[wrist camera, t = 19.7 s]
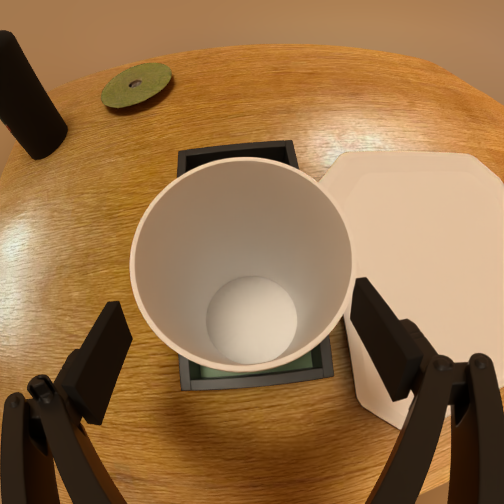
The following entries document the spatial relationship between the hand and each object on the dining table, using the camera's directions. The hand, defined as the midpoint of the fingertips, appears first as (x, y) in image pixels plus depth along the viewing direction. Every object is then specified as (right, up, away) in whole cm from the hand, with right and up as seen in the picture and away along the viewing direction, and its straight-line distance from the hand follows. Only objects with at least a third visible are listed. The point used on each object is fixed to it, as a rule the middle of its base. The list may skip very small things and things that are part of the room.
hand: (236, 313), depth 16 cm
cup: (+1, -3, +9) cm, 10 cm away
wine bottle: (-31, +20, +20) cm, 42 cm away
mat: (-16, +27, +22) cm, 39 cm away
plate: (+22, +1, +11) cm, 25 cm away
